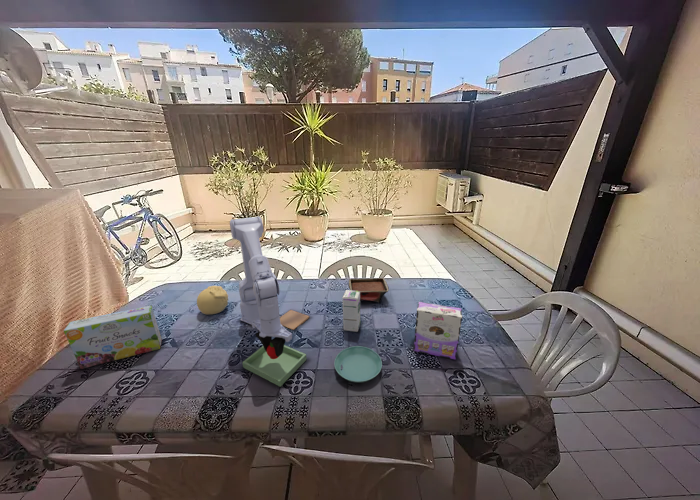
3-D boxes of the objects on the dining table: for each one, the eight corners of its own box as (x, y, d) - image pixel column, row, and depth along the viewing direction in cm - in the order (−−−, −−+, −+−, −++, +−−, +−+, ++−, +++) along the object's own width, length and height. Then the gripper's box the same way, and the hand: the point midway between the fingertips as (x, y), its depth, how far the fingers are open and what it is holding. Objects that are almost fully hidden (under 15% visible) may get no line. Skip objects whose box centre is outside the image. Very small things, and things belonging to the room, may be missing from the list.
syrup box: (358, 332, 102) (358, 298, 97) (342, 330, 103) (342, 296, 98) (360, 323, 107) (360, 290, 102) (345, 321, 108) (345, 289, 103)
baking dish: (386, 310, 119) (390, 289, 116) (346, 304, 118) (349, 283, 116) (382, 295, 133) (386, 277, 130) (346, 290, 132) (349, 271, 129)
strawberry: (264, 357, 85) (262, 345, 83) (274, 349, 88) (272, 337, 86) (274, 362, 83) (273, 350, 81) (284, 353, 86) (283, 341, 84)
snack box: (79, 371, 84) (61, 330, 79) (86, 359, 89) (69, 320, 84) (160, 349, 93) (149, 311, 88) (162, 339, 98) (152, 303, 93)
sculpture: (232, 311, 115) (228, 289, 111) (201, 321, 108) (195, 297, 105) (227, 300, 124) (223, 279, 120) (197, 308, 117) (192, 286, 114)
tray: (243, 368, 85) (242, 362, 84) (271, 345, 95) (270, 339, 94) (280, 388, 78) (279, 381, 77) (306, 360, 88) (306, 354, 87)
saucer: (336, 351, 92) (336, 345, 91) (379, 352, 91) (380, 346, 90) (332, 387, 78) (332, 380, 77) (383, 388, 78) (384, 381, 77)
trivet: (273, 323, 107) (273, 321, 107) (290, 311, 115) (290, 309, 115) (293, 331, 102) (293, 329, 102) (309, 317, 111) (309, 316, 110)
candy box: (455, 349, 93) (462, 307, 87) (455, 360, 88) (463, 317, 82) (414, 340, 97) (418, 300, 91) (412, 351, 92) (416, 309, 86)
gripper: (241, 315, 80) (247, 352, 85) (278, 330, 74) (282, 369, 78) (259, 304, 86) (264, 339, 91) (295, 316, 79) (298, 353, 84)
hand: (274, 352), depth 85 cm, fingers closed on strawberry, 4 cm apart
